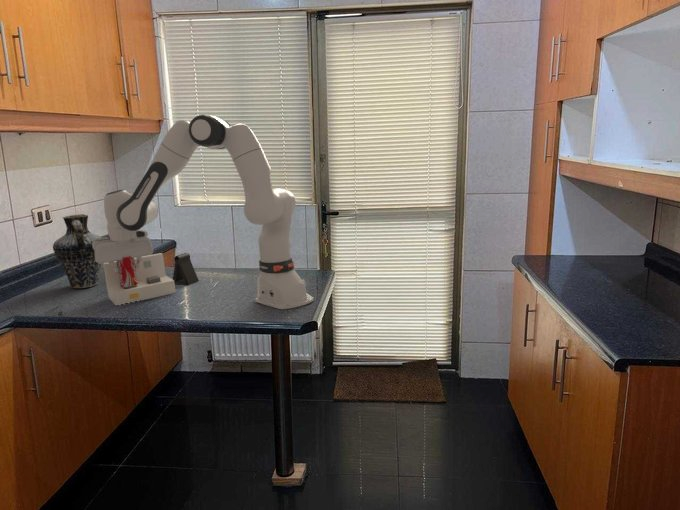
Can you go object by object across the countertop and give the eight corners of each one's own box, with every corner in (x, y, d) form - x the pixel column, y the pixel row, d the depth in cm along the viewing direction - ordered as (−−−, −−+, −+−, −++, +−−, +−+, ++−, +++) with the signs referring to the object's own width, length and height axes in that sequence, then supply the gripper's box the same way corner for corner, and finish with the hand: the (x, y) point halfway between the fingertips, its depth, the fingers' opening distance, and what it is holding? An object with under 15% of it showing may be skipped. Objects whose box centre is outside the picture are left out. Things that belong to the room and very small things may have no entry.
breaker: (161, 287, 199) (159, 277, 198) (150, 289, 197) (149, 279, 196) (158, 285, 202) (156, 275, 201) (147, 287, 200) (146, 277, 199)
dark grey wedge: (172, 283, 213) (168, 255, 210) (182, 279, 218) (178, 252, 215) (188, 285, 209) (185, 256, 206) (198, 281, 214) (195, 253, 211)
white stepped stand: (176, 292, 200) (171, 258, 196) (116, 306, 187) (110, 269, 184) (165, 286, 209) (161, 252, 206) (108, 298, 197) (103, 263, 194)
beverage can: (134, 288, 191) (129, 257, 188) (117, 289, 191) (112, 258, 188) (141, 283, 197) (136, 253, 194) (125, 284, 197) (120, 254, 194)
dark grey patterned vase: (55, 286, 218) (42, 216, 211) (103, 276, 230) (92, 210, 223) (67, 296, 203) (53, 221, 195) (118, 285, 215) (106, 214, 207)
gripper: (92, 240, 181) (99, 277, 184) (151, 231, 192) (156, 266, 195) (89, 237, 186) (95, 274, 189) (146, 229, 197) (151, 263, 200)
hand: (127, 270), depth 192 cm, fingers closed on beverage can, 6 cm apart
